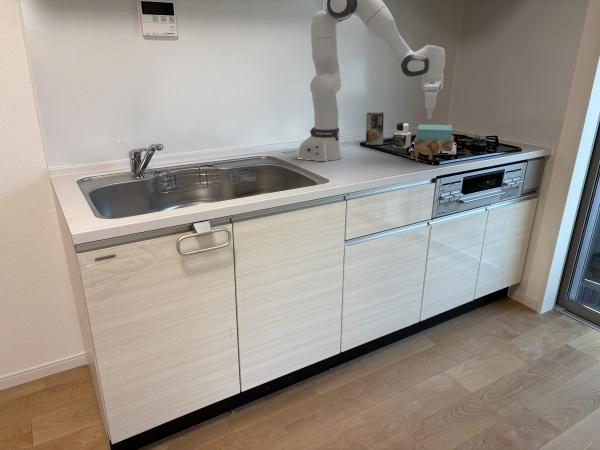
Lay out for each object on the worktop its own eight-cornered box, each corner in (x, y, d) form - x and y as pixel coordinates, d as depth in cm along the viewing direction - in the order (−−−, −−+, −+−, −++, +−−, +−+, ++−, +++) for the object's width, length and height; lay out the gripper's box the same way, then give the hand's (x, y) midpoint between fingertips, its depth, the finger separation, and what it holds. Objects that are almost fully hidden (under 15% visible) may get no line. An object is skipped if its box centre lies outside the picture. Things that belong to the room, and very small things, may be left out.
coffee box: (383, 142, 242) (384, 112, 236) (382, 144, 236) (383, 114, 230) (366, 142, 244) (367, 112, 238) (365, 144, 238) (366, 113, 232)
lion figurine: (439, 159, 205) (441, 139, 201) (440, 162, 200) (442, 142, 196) (406, 158, 207) (408, 139, 204) (407, 161, 202) (408, 141, 199)
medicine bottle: (392, 147, 231) (393, 123, 226) (397, 144, 236) (399, 121, 232) (405, 148, 227) (406, 124, 222) (410, 145, 232) (412, 122, 228)
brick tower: (408, 152, 219) (410, 130, 214) (412, 143, 238) (414, 123, 234) (455, 154, 212) (458, 131, 208) (456, 145, 231) (458, 124, 227)
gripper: (426, 82, 201) (424, 113, 206) (423, 86, 183) (421, 120, 188) (440, 82, 199) (438, 113, 204) (439, 86, 181) (436, 120, 186)
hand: (429, 117), depth 196 cm, fingers open, 8 cm apart
